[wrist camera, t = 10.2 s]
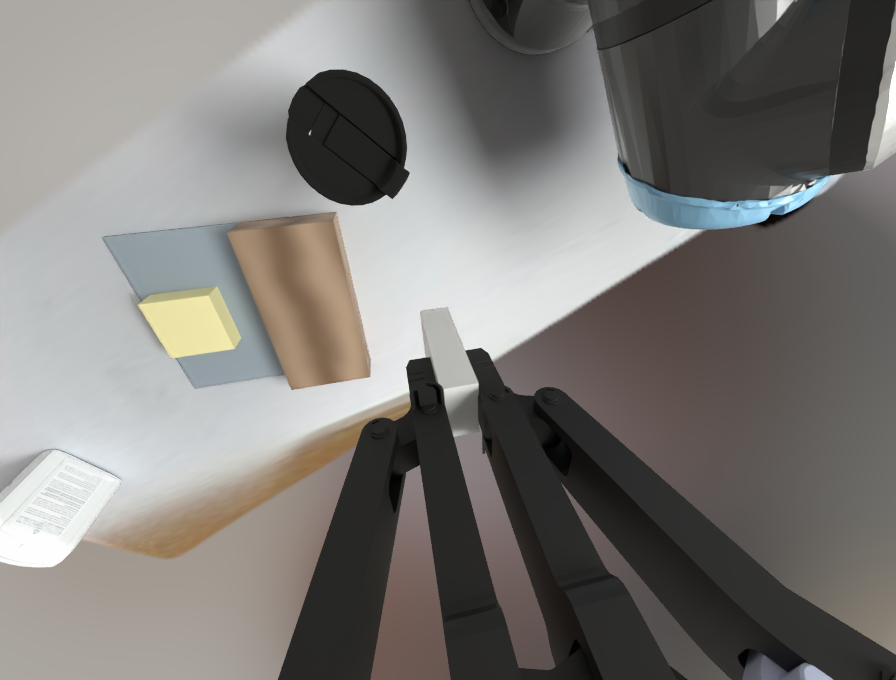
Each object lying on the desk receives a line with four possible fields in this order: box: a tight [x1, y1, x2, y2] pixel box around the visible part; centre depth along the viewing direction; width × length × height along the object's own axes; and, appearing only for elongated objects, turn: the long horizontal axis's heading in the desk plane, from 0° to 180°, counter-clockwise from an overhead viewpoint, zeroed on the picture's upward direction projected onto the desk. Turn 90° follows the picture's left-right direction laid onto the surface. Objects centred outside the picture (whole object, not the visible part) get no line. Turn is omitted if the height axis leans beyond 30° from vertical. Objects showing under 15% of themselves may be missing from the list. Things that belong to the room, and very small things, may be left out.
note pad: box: [138, 286, 241, 358], centre depth 39 cm, size 7×7×2 cm
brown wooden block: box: [227, 212, 370, 390], centre depth 41 cm, size 10×20×4 cm, turn 3°
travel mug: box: [286, 70, 410, 205], centre depth 26 cm, size 6×7×20 cm
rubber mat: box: [102, 222, 285, 389], centre depth 41 cm, size 13×20×1 cm, turn 3°
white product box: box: [0, 450, 121, 567], centre depth 44 cm, size 10×4×12 cm, turn 30°
